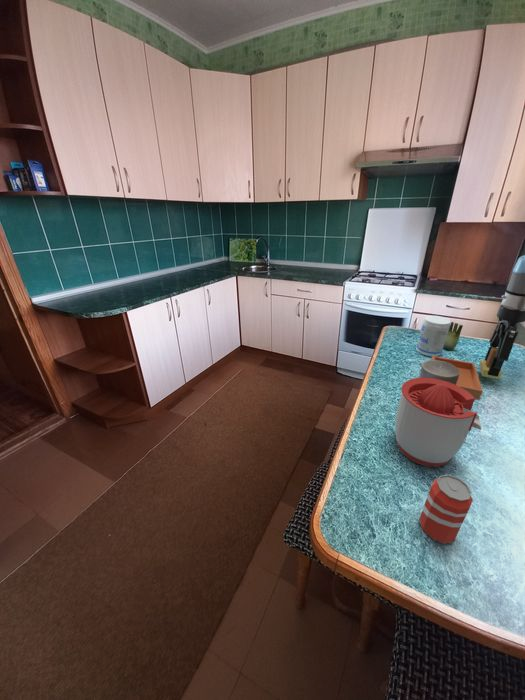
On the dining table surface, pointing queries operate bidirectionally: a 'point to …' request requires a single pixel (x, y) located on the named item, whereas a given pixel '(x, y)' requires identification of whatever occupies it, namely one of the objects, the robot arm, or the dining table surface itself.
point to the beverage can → (445, 508)
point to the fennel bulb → (452, 336)
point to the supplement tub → (433, 335)
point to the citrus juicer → (433, 420)
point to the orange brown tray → (466, 376)
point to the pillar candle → (439, 371)
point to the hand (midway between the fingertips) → (490, 369)
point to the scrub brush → (489, 364)
